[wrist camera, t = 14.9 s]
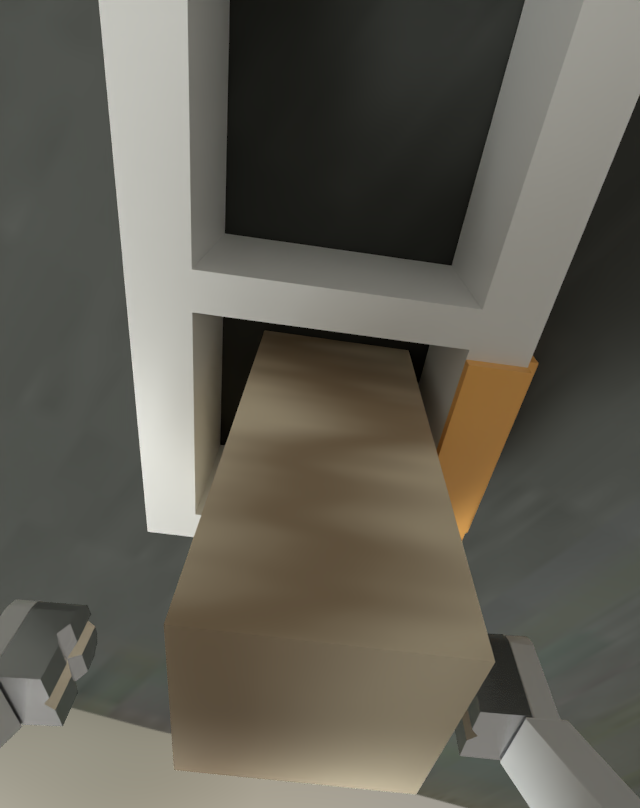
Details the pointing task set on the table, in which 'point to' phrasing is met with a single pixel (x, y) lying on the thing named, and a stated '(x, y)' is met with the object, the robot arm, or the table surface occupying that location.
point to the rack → (345, 270)
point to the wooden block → (325, 583)
